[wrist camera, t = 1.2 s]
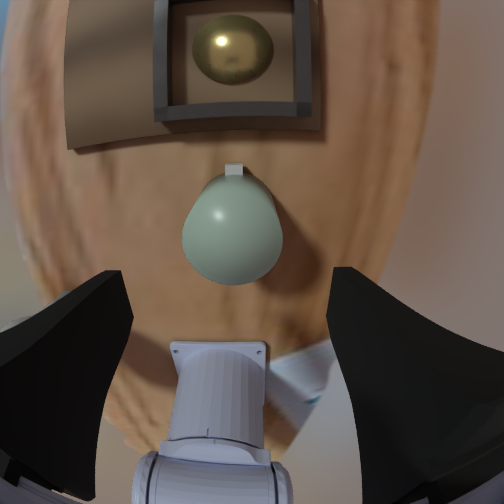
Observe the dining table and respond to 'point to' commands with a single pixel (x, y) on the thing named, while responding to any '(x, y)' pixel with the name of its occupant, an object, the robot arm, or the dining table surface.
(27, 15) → the dining table surface
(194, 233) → the pale green pear shape
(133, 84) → the board
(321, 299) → the dining table surface
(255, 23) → the dark grey square frame
